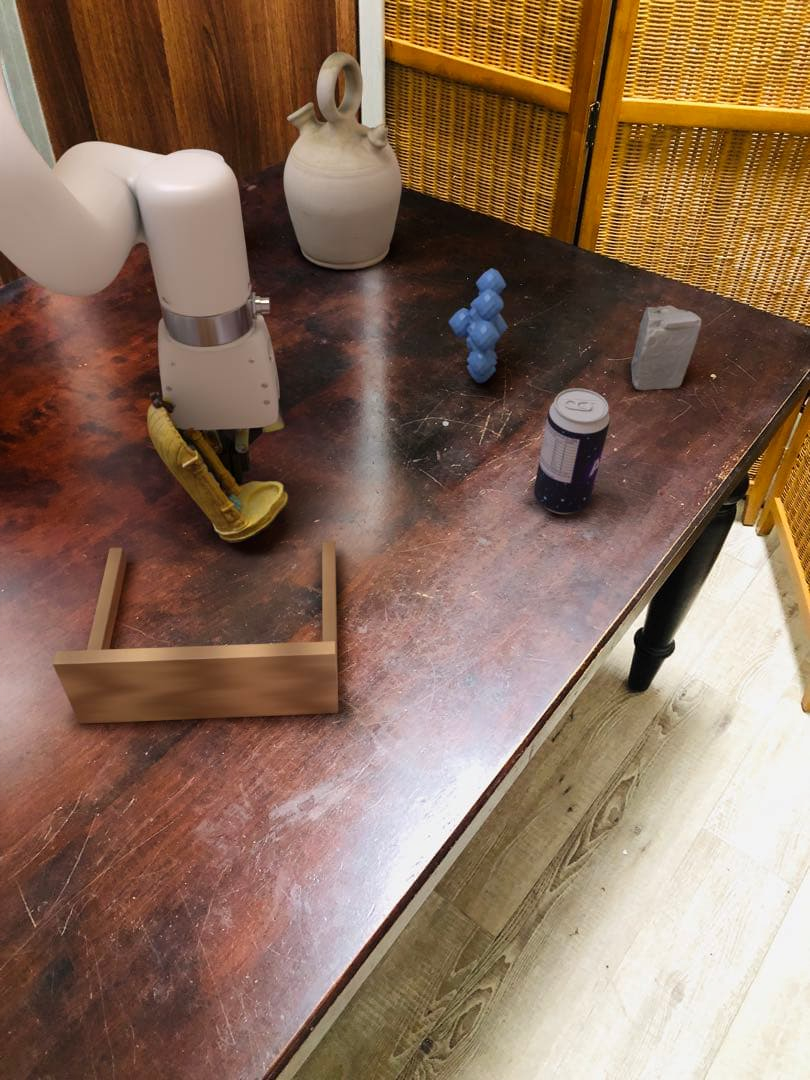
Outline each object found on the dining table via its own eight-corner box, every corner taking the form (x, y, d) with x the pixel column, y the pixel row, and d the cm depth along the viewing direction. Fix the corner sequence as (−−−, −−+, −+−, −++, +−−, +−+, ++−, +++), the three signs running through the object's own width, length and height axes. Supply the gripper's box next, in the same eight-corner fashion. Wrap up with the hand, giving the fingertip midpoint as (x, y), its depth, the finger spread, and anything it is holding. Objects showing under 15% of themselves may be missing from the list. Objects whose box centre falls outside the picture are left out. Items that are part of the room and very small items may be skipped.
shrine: (161, 549, 82) (126, 425, 72) (184, 490, 88) (155, 366, 77) (281, 559, 82) (265, 435, 71) (297, 498, 87) (284, 374, 76)
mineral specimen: (707, 378, 102) (714, 323, 96) (638, 402, 102) (641, 349, 96) (676, 341, 107) (681, 287, 101) (610, 364, 107) (611, 311, 100)
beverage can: (588, 523, 86) (612, 428, 78) (530, 515, 87) (548, 419, 78) (590, 484, 90) (613, 389, 82) (534, 477, 91) (552, 382, 82)
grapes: (450, 337, 108) (457, 246, 99) (505, 343, 108) (517, 252, 99) (439, 394, 100) (446, 300, 91) (499, 400, 100) (511, 307, 91)
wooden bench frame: (79, 724, 69) (52, 664, 64) (114, 562, 81) (94, 499, 75) (338, 713, 71) (335, 653, 65) (335, 555, 82) (333, 493, 77)
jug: (266, 246, 122) (248, 49, 104) (351, 212, 130) (348, 24, 112) (336, 290, 115) (330, 87, 97) (422, 252, 122) (431, 57, 104)
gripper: (298, 286, 77) (311, 447, 90) (124, 291, 76) (163, 453, 89) (297, 335, 72) (311, 498, 85) (110, 340, 71) (154, 504, 84)
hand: (235, 474), depth 87 cm, fingers closed
